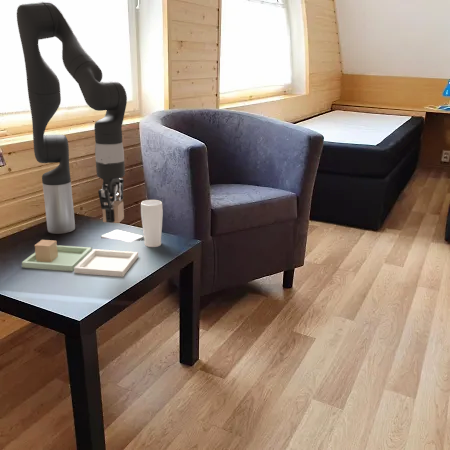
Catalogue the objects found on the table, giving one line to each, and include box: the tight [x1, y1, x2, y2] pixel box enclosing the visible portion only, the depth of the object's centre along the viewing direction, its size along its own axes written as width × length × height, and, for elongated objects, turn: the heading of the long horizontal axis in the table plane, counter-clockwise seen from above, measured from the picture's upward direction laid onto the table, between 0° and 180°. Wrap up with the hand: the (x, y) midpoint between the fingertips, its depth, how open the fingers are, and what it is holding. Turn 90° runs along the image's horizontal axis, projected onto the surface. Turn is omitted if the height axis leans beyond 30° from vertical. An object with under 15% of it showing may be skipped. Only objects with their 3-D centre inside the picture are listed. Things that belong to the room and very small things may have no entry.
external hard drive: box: [100, 229, 144, 243], centre depth 160 cm, size 2×8×12 cm
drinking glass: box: [140, 199, 164, 248], centre depth 151 cm, size 7×7×15 cm
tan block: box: [101, 200, 125, 224], centre depth 132 cm, size 4×4×5 cm
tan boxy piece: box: [34, 239, 58, 262], centre depth 140 cm, size 4×4×5 cm
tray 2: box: [73, 248, 139, 278], centre depth 138 cm, size 14×14×2 cm
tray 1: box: [21, 244, 93, 272], centre depth 140 cm, size 14×15×2 cm
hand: (113, 218), depth 133 cm, fingers closed on tan block, 4 cm apart
